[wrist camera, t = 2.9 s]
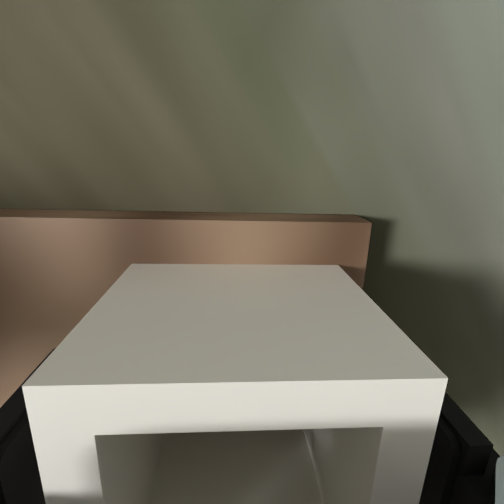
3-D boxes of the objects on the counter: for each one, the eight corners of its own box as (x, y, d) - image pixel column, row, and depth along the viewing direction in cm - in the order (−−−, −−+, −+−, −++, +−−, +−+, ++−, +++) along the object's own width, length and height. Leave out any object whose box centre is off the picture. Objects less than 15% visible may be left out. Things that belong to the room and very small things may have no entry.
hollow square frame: (338, 264, 11) (448, 378, 6) (320, 427, 13) (388, 633, 8) (131, 263, 11) (22, 386, 5) (145, 432, 13) (77, 655, 7)
